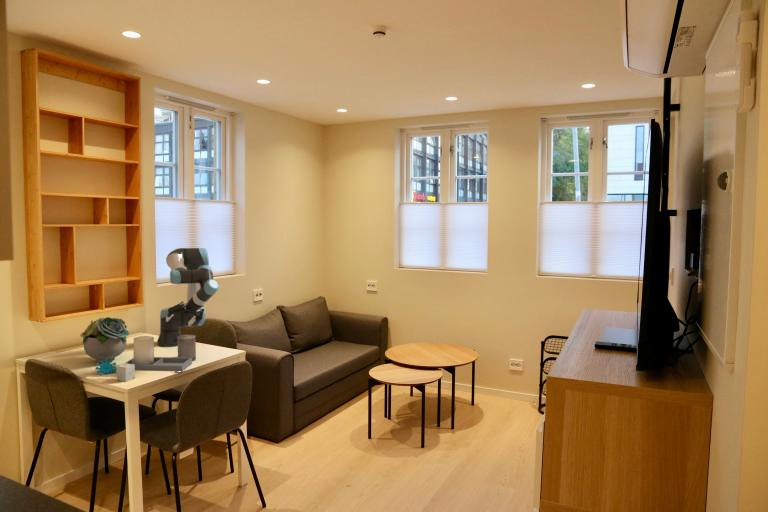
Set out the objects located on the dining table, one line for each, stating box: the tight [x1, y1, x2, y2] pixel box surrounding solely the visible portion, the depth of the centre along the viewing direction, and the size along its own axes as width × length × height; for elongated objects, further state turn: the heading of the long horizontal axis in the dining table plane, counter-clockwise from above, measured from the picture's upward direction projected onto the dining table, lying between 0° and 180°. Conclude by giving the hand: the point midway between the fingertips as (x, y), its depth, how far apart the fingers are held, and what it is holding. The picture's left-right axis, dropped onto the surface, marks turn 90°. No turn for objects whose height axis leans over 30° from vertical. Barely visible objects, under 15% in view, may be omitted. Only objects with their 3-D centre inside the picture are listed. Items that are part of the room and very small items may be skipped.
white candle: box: [133, 335, 155, 365], centre depth 283 cm, size 10×10×15 cm
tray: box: [125, 356, 193, 373], centre depth 284 cm, size 16×31×4 cm, turn 93°
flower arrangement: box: [79, 316, 130, 364], centre depth 293 cm, size 25×25×24 cm
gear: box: [95, 359, 117, 376], centre depth 270 cm, size 11×6×10 cm
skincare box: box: [115, 362, 136, 382], centre depth 263 cm, size 6×6×7 cm
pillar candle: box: [177, 334, 197, 362], centre depth 300 cm, size 10×10×15 cm
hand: (177, 322), depth 298 cm, fingers open, 13 cm apart
